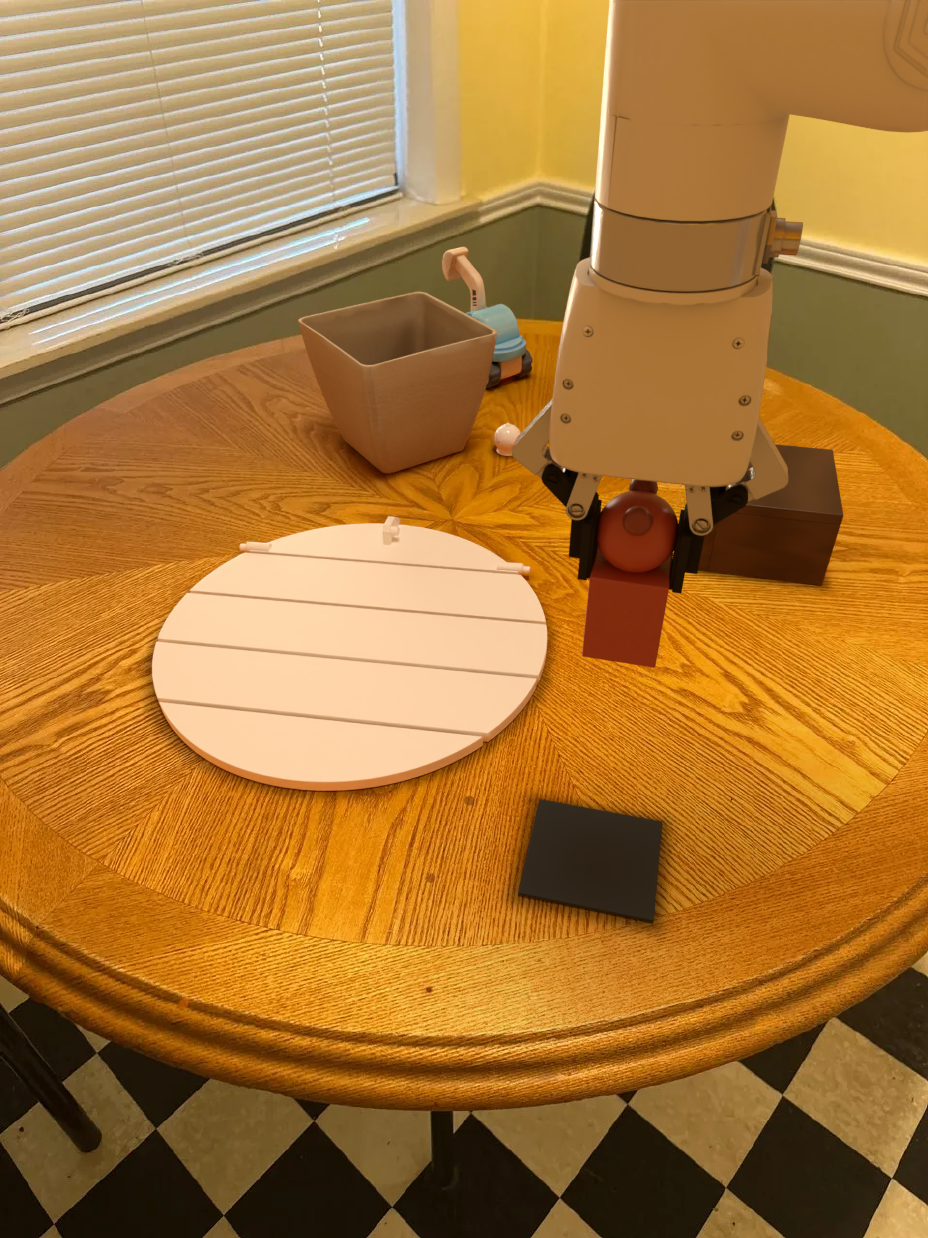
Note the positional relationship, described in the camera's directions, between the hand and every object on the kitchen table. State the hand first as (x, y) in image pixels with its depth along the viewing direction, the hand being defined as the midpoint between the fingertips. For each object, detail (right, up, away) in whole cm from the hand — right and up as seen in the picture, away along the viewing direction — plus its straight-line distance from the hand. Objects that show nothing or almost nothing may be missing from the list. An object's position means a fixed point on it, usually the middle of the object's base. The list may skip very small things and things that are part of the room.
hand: (631, 569), depth 50 cm
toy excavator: (-7, +37, +88) cm, 96 cm away
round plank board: (-21, -5, +38) cm, 44 cm away
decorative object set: (+4, +21, +68) cm, 71 cm away
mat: (0, -21, +17) cm, 27 cm away
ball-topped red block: (0, -4, +3) cm, 5 cm away
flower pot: (-18, +21, +69) cm, 75 cm away
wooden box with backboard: (+25, +6, +49) cm, 55 cm away
